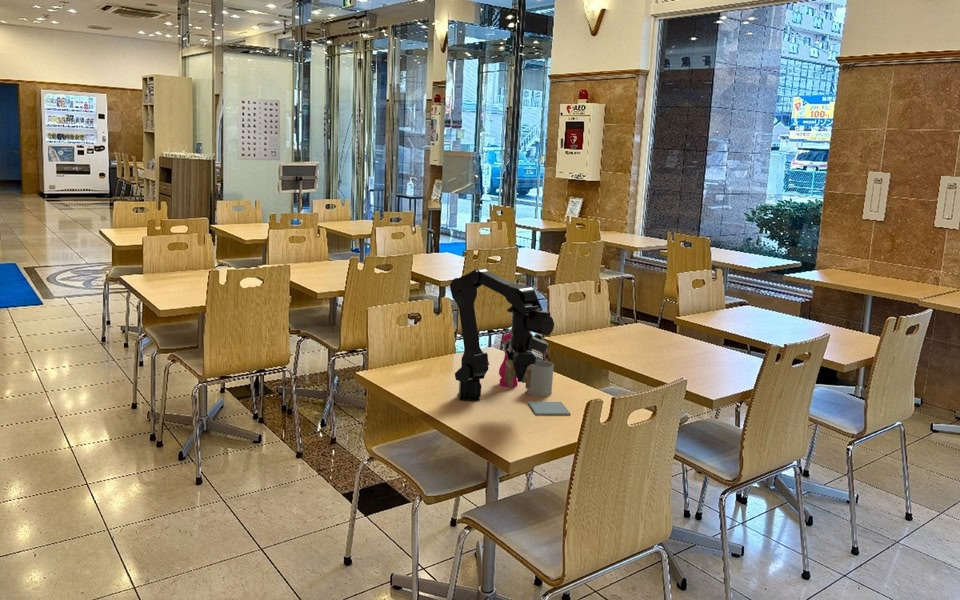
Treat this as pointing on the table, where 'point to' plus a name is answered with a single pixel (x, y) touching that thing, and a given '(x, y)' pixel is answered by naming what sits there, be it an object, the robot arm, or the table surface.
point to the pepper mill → (503, 365)
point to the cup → (541, 378)
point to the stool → (511, 372)
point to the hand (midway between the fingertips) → (517, 378)
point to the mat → (548, 408)
